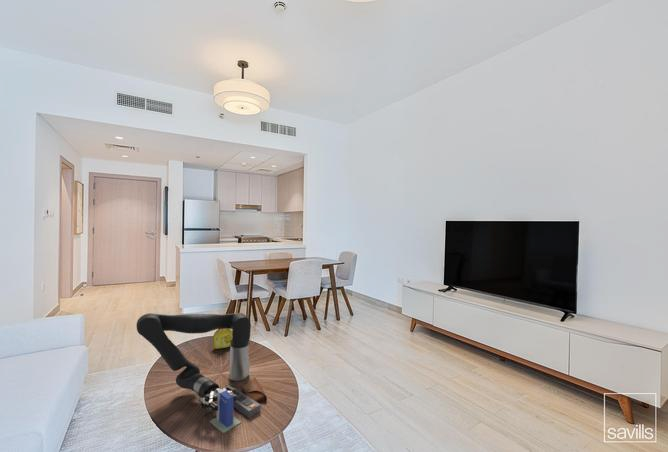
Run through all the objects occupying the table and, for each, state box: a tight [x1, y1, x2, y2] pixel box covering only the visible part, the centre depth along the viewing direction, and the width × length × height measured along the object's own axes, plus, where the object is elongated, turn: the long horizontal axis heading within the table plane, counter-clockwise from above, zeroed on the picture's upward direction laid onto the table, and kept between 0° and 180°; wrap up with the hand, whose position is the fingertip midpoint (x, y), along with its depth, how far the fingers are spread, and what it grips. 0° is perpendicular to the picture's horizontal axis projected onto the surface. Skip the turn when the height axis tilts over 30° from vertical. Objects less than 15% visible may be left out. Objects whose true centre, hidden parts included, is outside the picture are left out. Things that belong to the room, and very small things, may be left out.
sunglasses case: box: [240, 377, 268, 404], centre depth 144 cm, size 18×7×7 cm
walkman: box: [216, 389, 234, 427], centre depth 123 cm, size 8×3×12 cm, turn 51°
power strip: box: [202, 388, 261, 419], centre depth 132 cm, size 25×18×3 cm
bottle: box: [212, 328, 233, 350], centre depth 193 cm, size 12×6×20 cm, turn 120°
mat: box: [209, 415, 242, 434], centre depth 123 cm, size 8×10×1 cm
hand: (226, 403), depth 123 cm, fingers open, 8 cm apart
